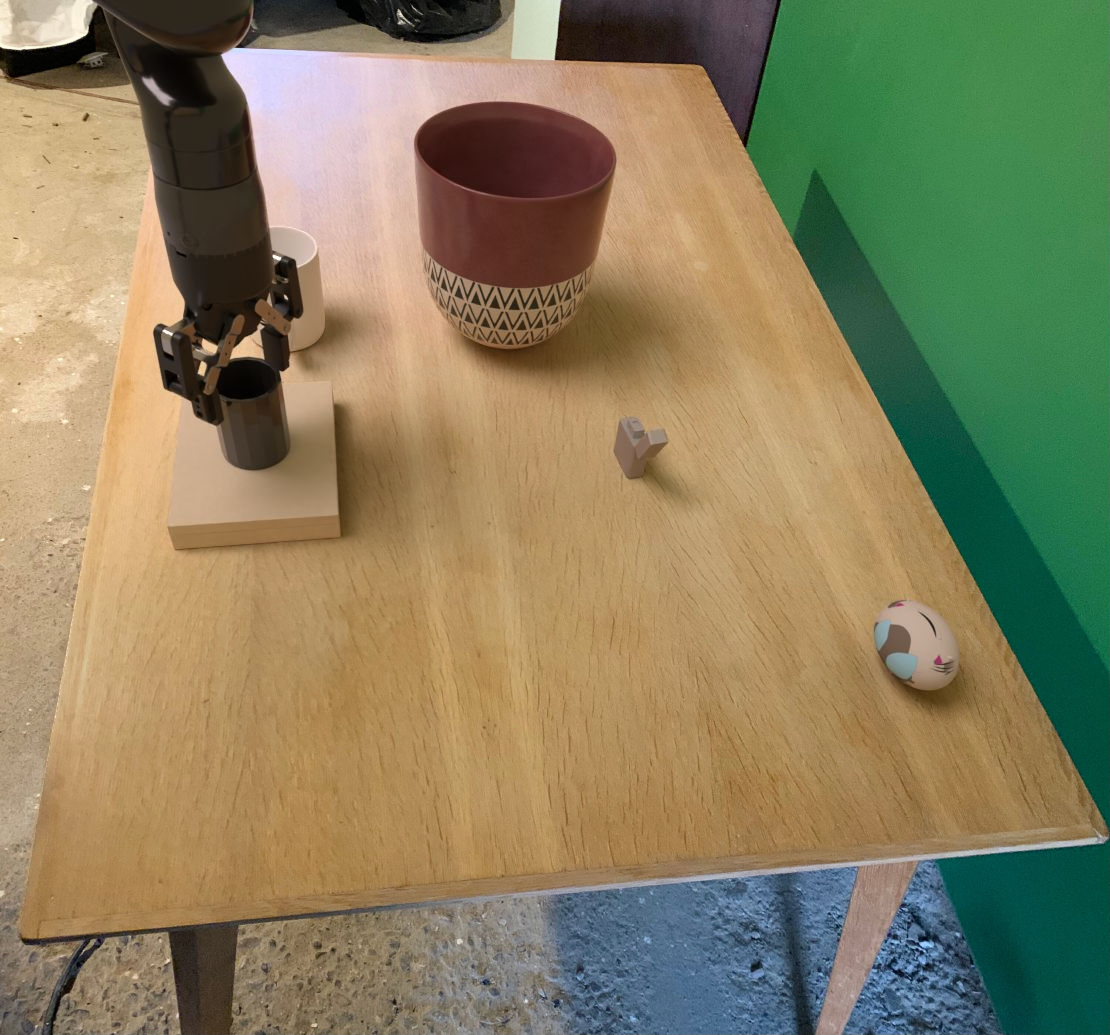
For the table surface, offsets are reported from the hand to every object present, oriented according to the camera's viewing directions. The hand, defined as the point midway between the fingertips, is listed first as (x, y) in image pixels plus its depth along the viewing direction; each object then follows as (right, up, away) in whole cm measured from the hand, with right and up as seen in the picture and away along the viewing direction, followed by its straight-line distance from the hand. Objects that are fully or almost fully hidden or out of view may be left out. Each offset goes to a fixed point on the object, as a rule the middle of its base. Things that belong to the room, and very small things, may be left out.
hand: (245, 392), depth 81 cm
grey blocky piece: (+34, -7, +12) cm, 37 cm away
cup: (-2, +8, +20) cm, 22 cm away
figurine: (+56, -24, -1) cm, 61 cm away
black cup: (-1, -4, +5) cm, 7 cm away
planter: (+21, +10, +25) cm, 34 cm away
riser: (-1, -6, +7) cm, 10 cm away
